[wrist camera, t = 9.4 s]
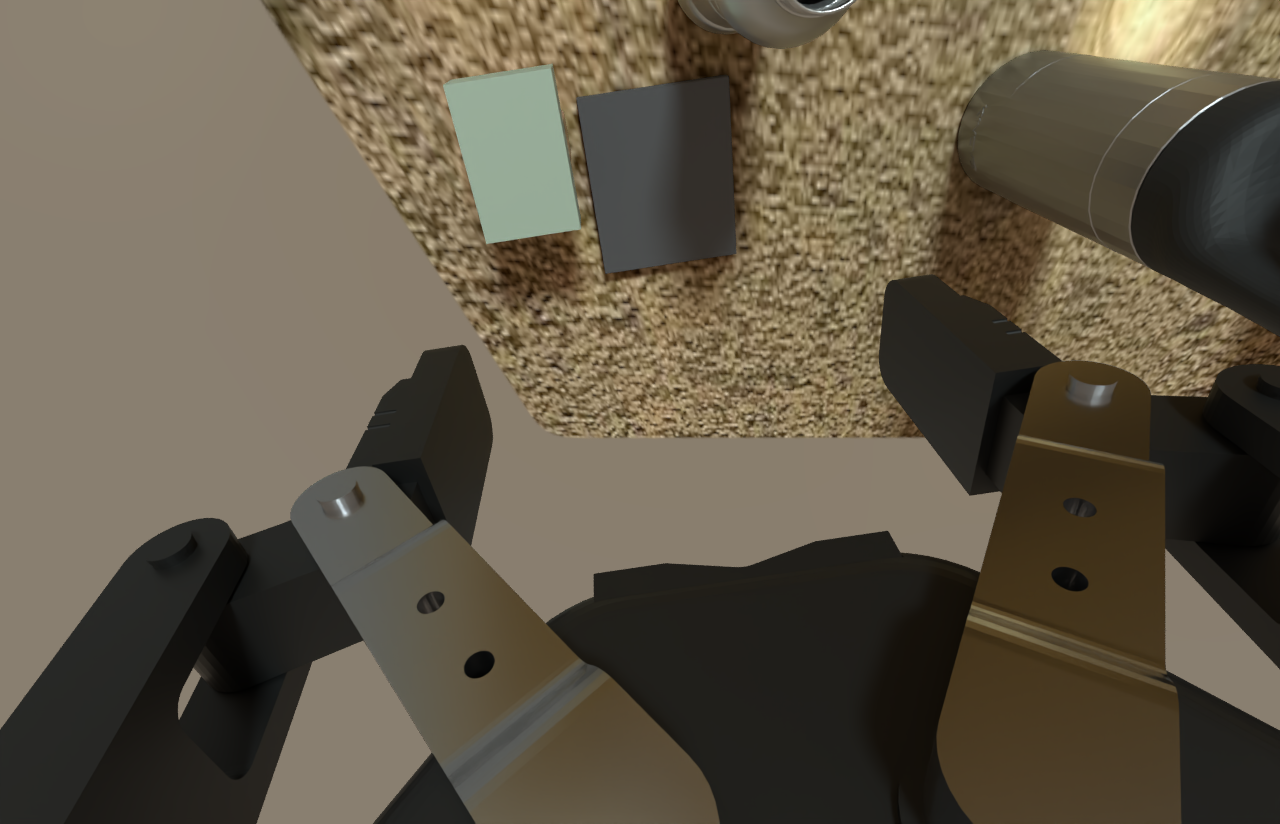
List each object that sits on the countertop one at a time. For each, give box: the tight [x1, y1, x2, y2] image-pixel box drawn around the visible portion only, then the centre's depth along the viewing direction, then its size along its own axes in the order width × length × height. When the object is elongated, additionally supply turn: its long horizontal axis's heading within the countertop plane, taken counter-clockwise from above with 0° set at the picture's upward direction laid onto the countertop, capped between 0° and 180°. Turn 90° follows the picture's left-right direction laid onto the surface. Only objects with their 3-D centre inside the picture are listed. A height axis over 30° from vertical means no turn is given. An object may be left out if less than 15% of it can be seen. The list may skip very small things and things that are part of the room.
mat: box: [577, 75, 736, 274], centre depth 45 cm, size 10×12×1 cm
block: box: [443, 64, 581, 244], centre depth 38 cm, size 6×9×2 cm, turn 7°
